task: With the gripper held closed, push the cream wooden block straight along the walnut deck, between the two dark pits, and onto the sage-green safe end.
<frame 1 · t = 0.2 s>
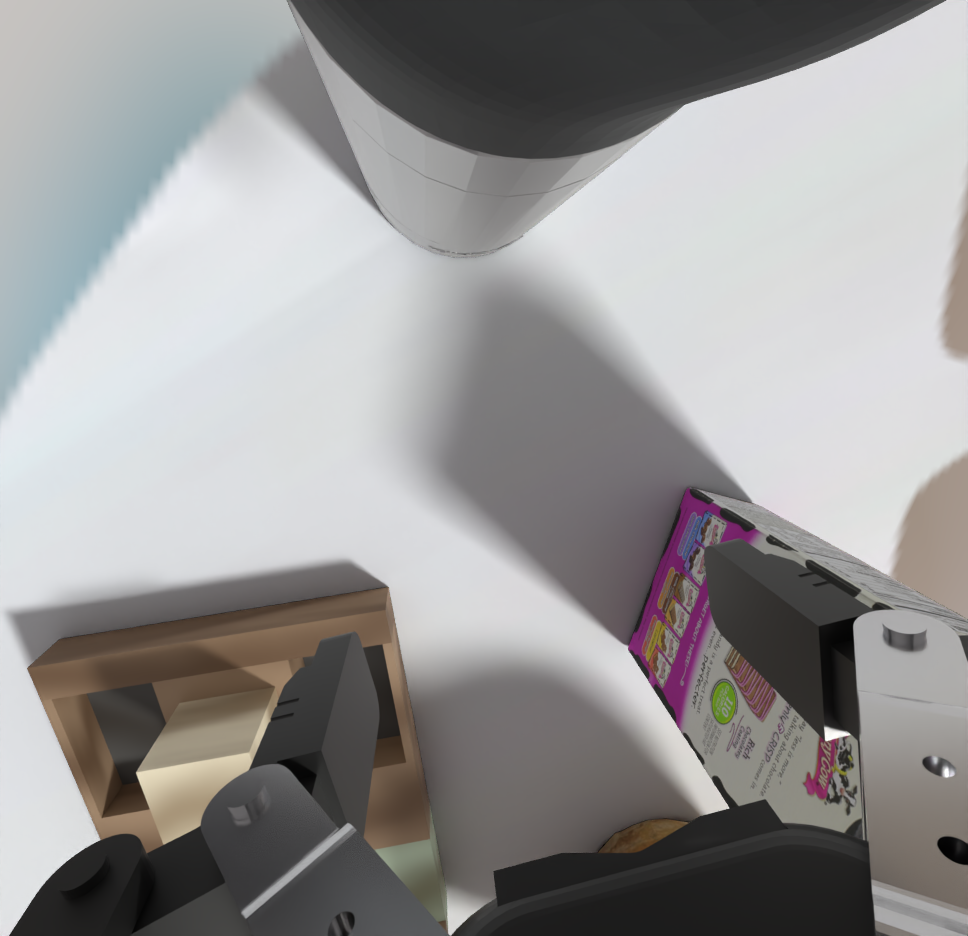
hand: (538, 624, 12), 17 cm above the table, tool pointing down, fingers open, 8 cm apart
block: (239, 732, 29), point 2 cm above the table, touching deck
candy bar box: (689, 574, 33), on the table
potted plant: (653, 872, 39), on the table
deck: (276, 780, 33), on the table
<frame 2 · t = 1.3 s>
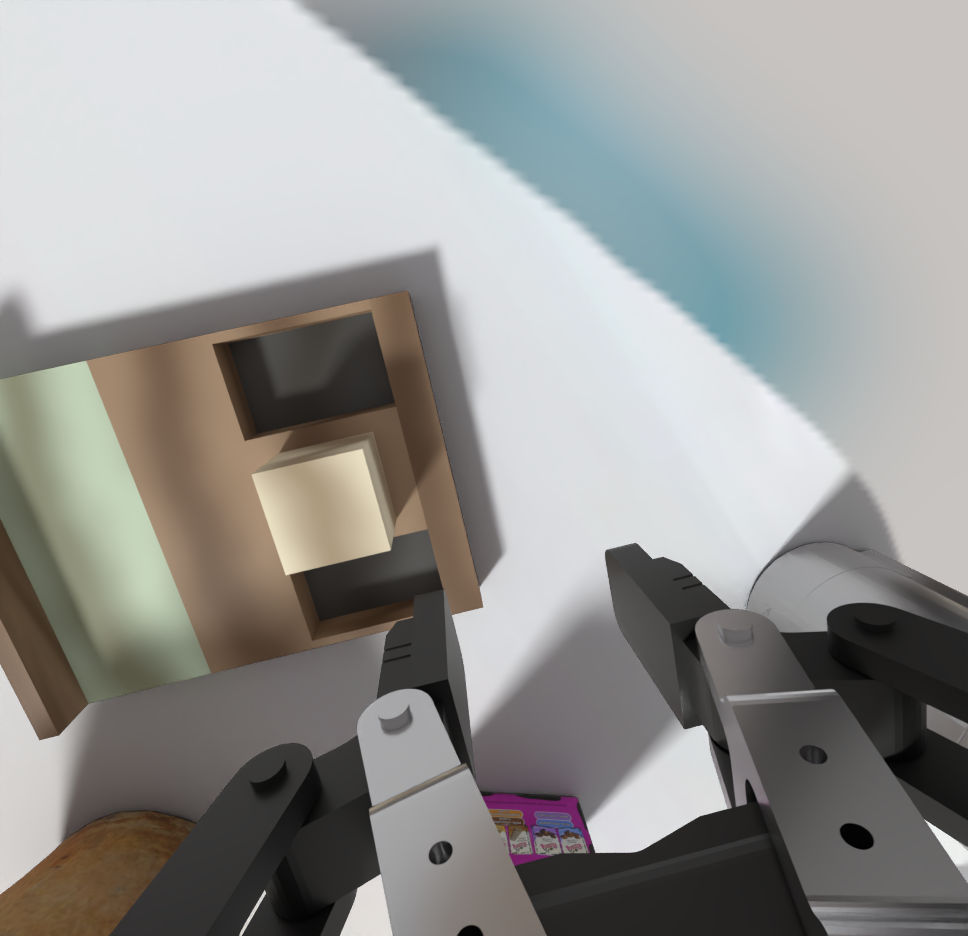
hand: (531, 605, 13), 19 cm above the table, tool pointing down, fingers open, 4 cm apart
block: (339, 486, 29), point 2 cm above the table, touching deck
candy bar box: (498, 817, 38), on the table
potted plant: (148, 872, 37), on the table
deck: (244, 498, 31), on the table
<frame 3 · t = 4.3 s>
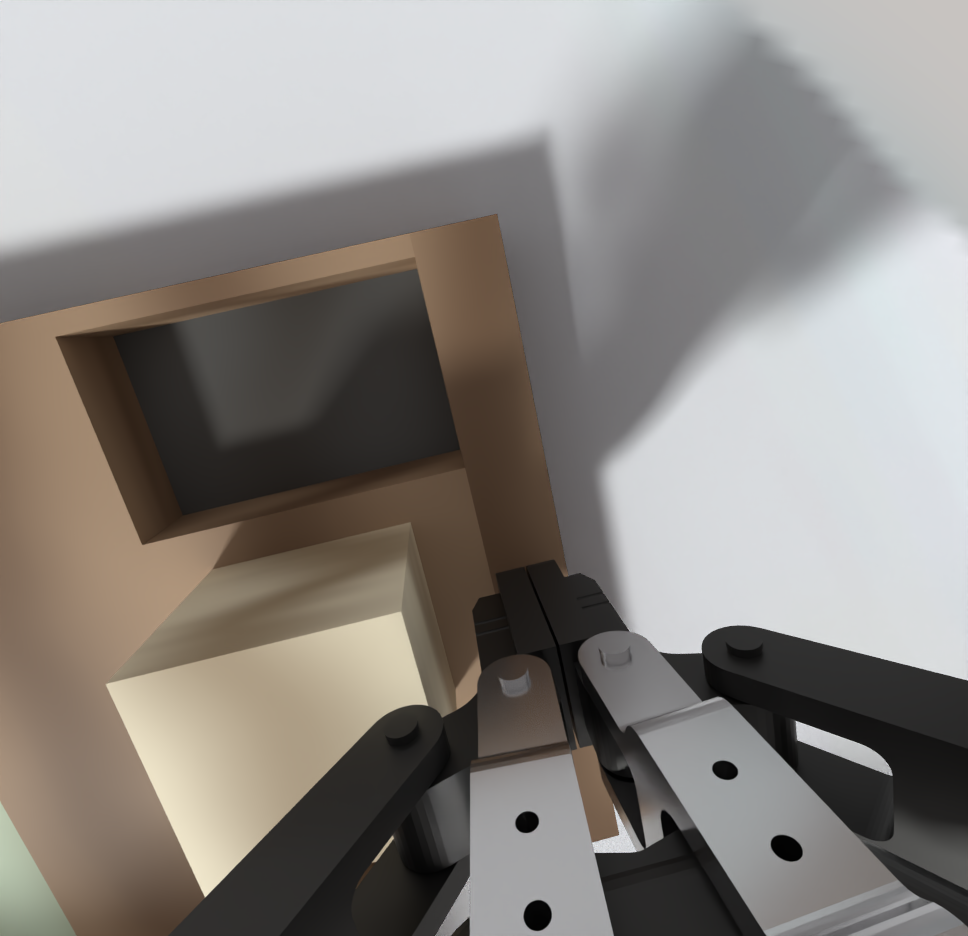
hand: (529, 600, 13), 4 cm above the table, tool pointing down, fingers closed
block: (340, 632, 14), point 3 cm above the table, touching gripper
deck: (162, 634, 16), on the table
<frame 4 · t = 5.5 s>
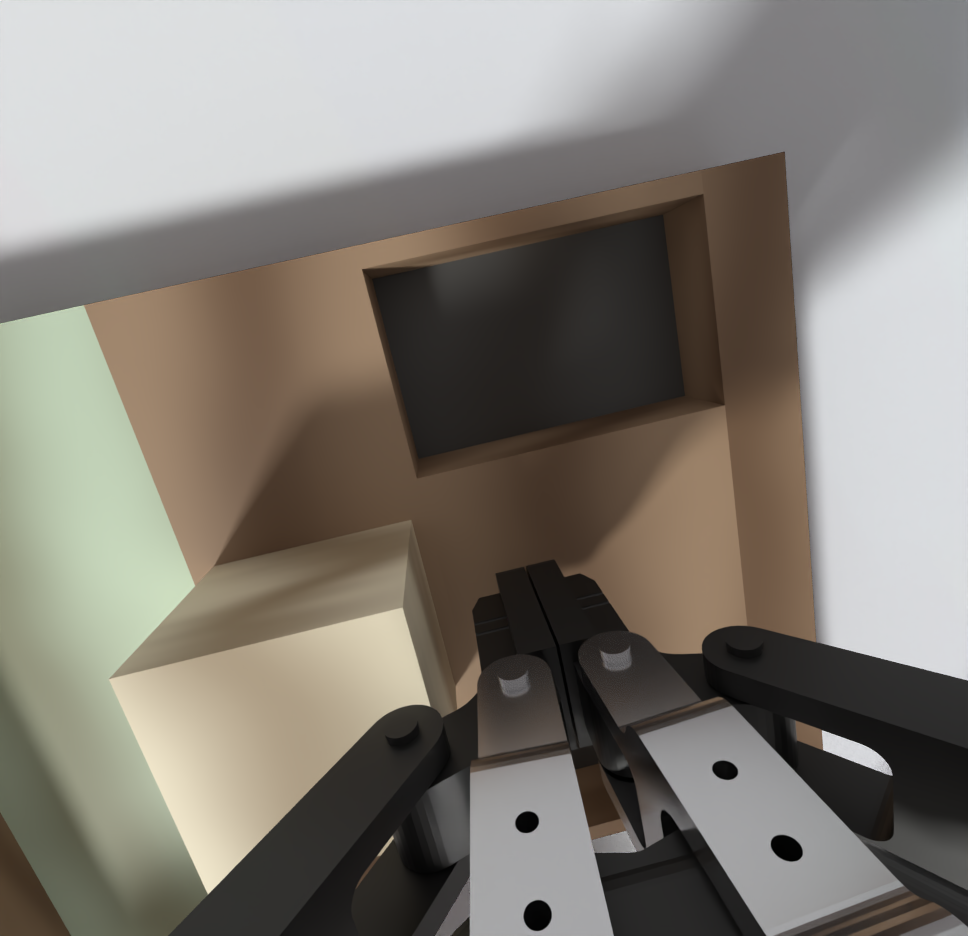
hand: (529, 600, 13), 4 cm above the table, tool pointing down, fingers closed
block: (341, 629, 14), point 3 cm above the table, touching gripper
deck: (383, 579, 16), on the table
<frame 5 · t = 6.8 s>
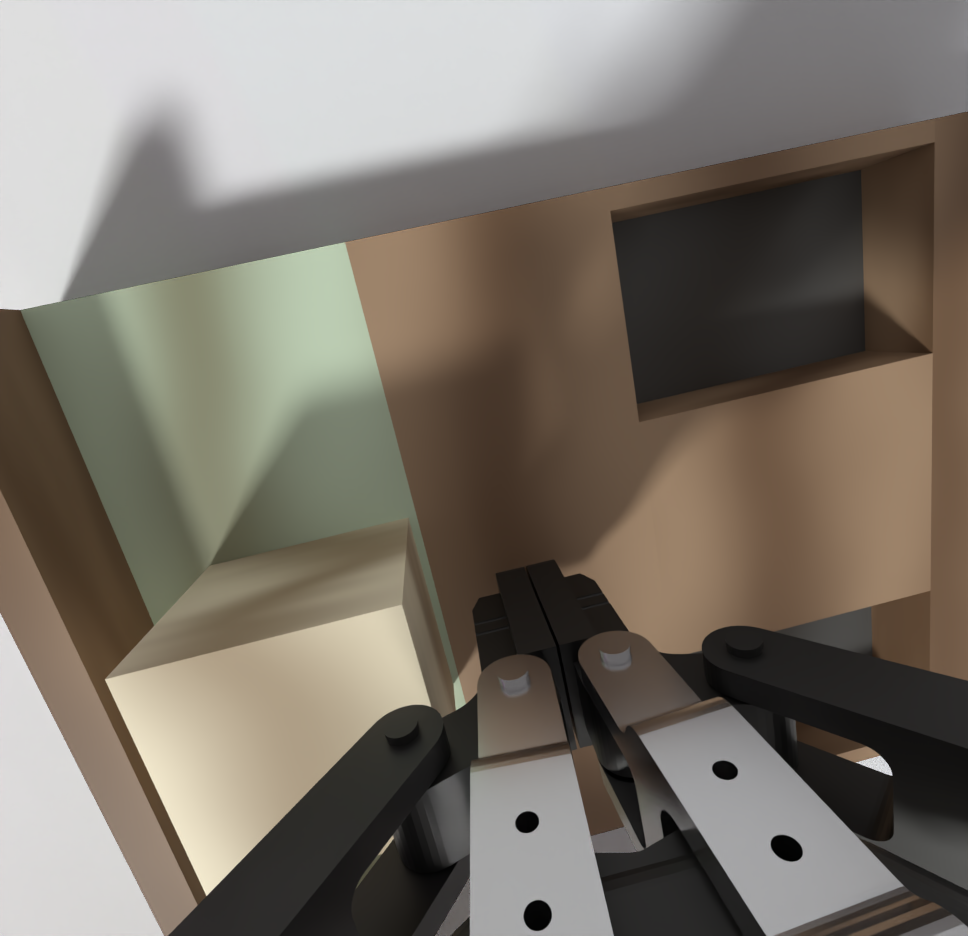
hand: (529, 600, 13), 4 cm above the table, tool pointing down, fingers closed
block: (338, 628, 14), point 3 cm above the table, touching gripper
deck: (561, 532, 17), on the table
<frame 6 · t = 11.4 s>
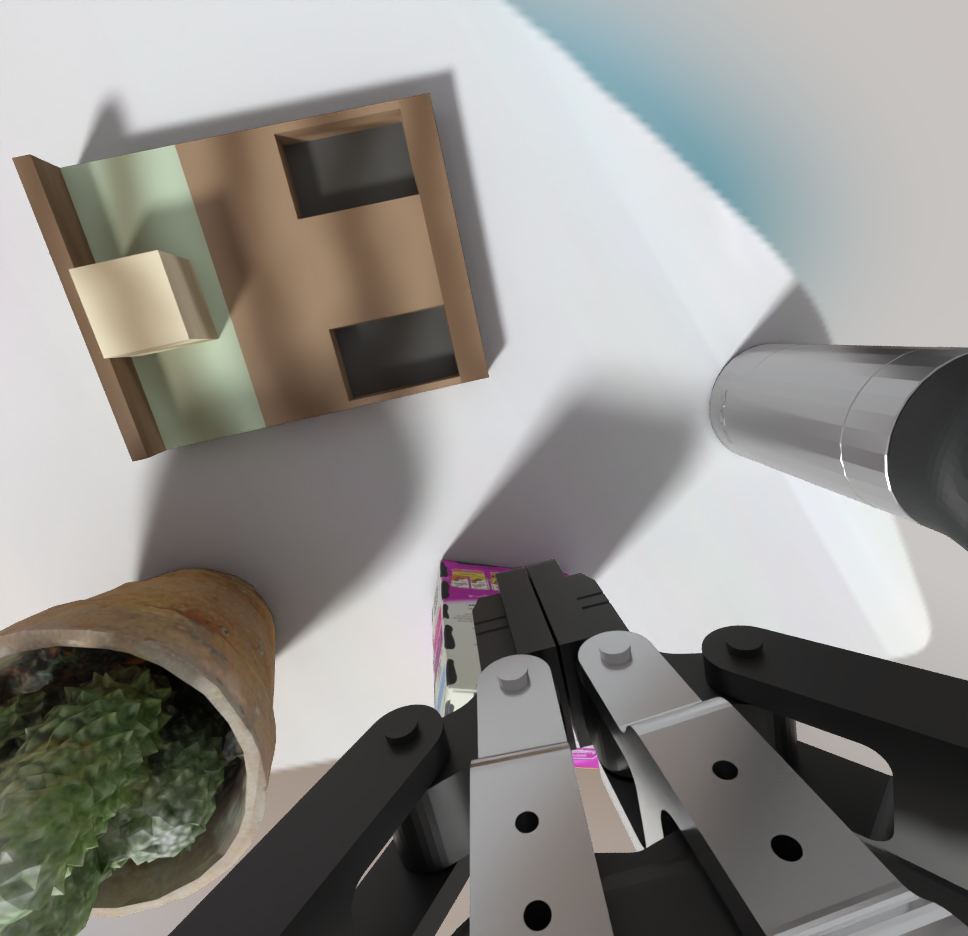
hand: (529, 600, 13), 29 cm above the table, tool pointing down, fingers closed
block: (167, 309, 35), point 2 cm above the table, touching deck
candy bar box: (500, 591, 45), on the table
potted plant: (205, 629, 43), on the table
deck: (293, 285, 38), on the table
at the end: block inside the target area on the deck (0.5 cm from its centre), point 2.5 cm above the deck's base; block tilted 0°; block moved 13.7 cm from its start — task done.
